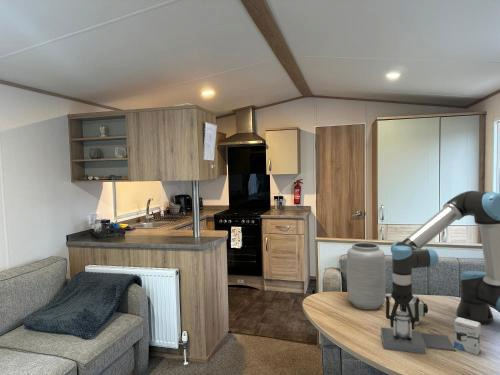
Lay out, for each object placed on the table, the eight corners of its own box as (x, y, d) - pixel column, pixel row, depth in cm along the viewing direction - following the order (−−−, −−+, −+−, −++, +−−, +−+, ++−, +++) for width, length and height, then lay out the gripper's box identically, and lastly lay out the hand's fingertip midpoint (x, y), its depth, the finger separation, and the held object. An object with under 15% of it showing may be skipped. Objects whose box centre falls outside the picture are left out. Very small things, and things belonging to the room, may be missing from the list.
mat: (447, 336, 147) (447, 335, 147) (455, 351, 136) (455, 349, 136) (417, 333, 151) (417, 332, 151) (423, 347, 139) (423, 346, 139)
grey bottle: (409, 340, 145) (409, 311, 144) (412, 349, 138) (412, 318, 138) (392, 339, 147) (392, 310, 146) (394, 347, 140) (394, 317, 140)
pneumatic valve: (428, 326, 157) (428, 301, 157) (401, 324, 160) (401, 300, 159) (424, 321, 163) (424, 297, 162) (399, 319, 165) (398, 296, 164)
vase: (341, 299, 193) (340, 242, 191) (372, 295, 196) (372, 240, 194) (358, 313, 173) (357, 250, 171) (393, 309, 176) (393, 247, 175)
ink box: (453, 347, 138) (453, 320, 138) (456, 343, 142) (457, 316, 141) (477, 355, 132) (478, 326, 132) (480, 350, 136) (480, 322, 135)
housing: (419, 339, 146) (419, 331, 146) (425, 353, 134) (425, 345, 134) (381, 334, 151) (381, 327, 150) (383, 348, 139) (383, 340, 139)
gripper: (424, 281, 142) (424, 333, 143) (378, 278, 147) (378, 328, 149) (428, 287, 135) (428, 342, 136) (379, 283, 140) (379, 337, 141)
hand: (402, 335), depth 142 cm, fingers closed on grey bottle, 6 cm apart
